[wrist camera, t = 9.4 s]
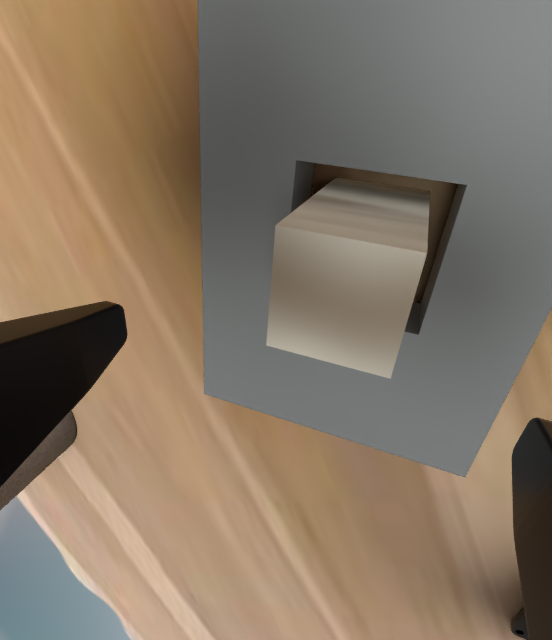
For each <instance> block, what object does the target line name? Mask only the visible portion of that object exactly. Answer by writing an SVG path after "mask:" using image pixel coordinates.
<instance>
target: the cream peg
mask: <svg viewBox="0 0 552 640" xmlns="http://www.w3.org/2000/svg"><path fill="white" fill-rule="evenodd" d="M429 203H430V191H425V190H418V189H412V188H405V187H398V186H391V185H384V184H377V183H370V182H364V181H357V180H350V179H343V178H335V179H333V180H332V181H331V182H330V183H328V184H327V185H326V186H325V187H323V188H322V189H321V190H320V191H318V192H317V193H316V194H314V195H313V196H312V197H311V198H309V199H308V200H307V201H306V202H304V203H303V204H302V205H301V206H299V207H298V208H297V209H295V210H294V211H293V212H292V213H290V214H289V215H288V216H287V217H285V218H284V219H283V220H281V221H280V222H279V223H278V224H276V225H275V238H274V251H273V264H272V277H271V290H270V303H269V316H268V328H267V341H266V346H270V347H274V348H277V349H281V350H285V351H289V352H292V353H296V354H300V355H304V356H307V357H311V358H315V359H318V360H322V361H326V362H330V363H333V364H337V365H341V366H345V367H348V368H352V369H356V370H360V371H363V372H367V373H371V374H375V375H378V376H382V377H386V378H389V379H391V376H392V372H393V369H394V365H395V362H396V358H397V355H398V352H399V348H400V345H401V341H402V338H403V334H404V331H405V328H406V324H407V321H408V317H409V314H410V310H411V307H412V304H413V300H414V297H415V293H416V290H417V286H418V283H419V280H420V276H421V273H422V269H423V266H424V263H425V259H426V256H427V247H428V225H429Z"/></svg>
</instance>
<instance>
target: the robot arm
mask: <svg viewBox="0 0 552 640" xmlns="http://www.w3.org/2000/svg"><path fill="white" fill-rule="evenodd" d="M126 339H127V327H126V320H125V313H124V309H123V307H122V306H121V305H119V304H116V303H112V302H108V301H103V302H98V303H93V304H88V305H83V306H78V307H74V308H69V309H64V310H59V311H54V312H49V313H44V314H39V315H34V316H29V317H25V318H20V319H15V320H10V321H5V322H0V488H1V487H2V486H3V485H4V484H5V482H6V481H7V480H8V479H9V478H10V477H11V476H12V475H13V474H14V473H15V472H16V470H17V469H18V468H19V467H20V466H21V465H22V464H23V463H24V462H25V461H26V459H27V458H28V457H29V456H30V455H31V454H32V453H33V452H34V451H35V450H36V449H37V447H38V446H39V445H40V444H41V443H42V442H43V441H44V440H45V439H46V438H47V436H48V435H49V434H50V433H51V432H52V431H53V430H54V429H55V428H56V427H57V425H58V424H59V423H60V422H61V421H62V420H63V419H64V418H65V417H66V416H67V415H68V413H69V412H70V411H71V410H72V409H73V408H74V407H75V406H76V405H77V404H78V402H79V401H80V400H81V399H82V398H83V397H84V396H85V395H86V393H87V392H88V391H89V390H90V389H91V387H92V386H93V385H94V384H95V382H96V381H97V380H98V378H99V377H100V376H101V374H102V373H103V372H104V370H105V369H106V368H107V366H108V365H109V364H110V362H111V361H112V360H113V358H114V357H115V356H116V354H117V353H118V352H119V350H120V349H121V348H122V346H123V345H124V343H125V341H126ZM512 492H513V528H514V541H515V549H516V556H517V563H518V569H519V576H520V583H521V590H522V596H523V603H524V608H523V609H522V610H521V611H520V612H519V614H518V615H517V616H516V617H515V618H514V619H513V621H512V622H511V624H510V625H511V631H512V633H513V634H515V635H517V636H519V637H522V638H524V639H527V640H552V421H548V420H544V419H541V418H533V419H531V420H530V421H529V423H528V424H527V426H526V428H525V429H524V431H523V433H522V435H521V436H520V438H519V440H518V442H517V443H516V445H515V447H514V449H513V453H512Z"/></svg>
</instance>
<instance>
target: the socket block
mask: <svg viewBox="0 0 552 640" xmlns="http://www.w3.org/2000/svg"><path fill="white" fill-rule="evenodd" d="M198 44H199V106H200V168H201V229H202V291H203V353H204V394H206V395H209V396H212V397H215V398H218V399H221V400H225V401H228V402H231V403H234V404H237V405H240V406H243V407H246V408H250V409H253V410H256V411H259V412H262V413H265V414H268V415H271V416H275V417H278V418H281V419H284V420H287V421H290V422H293V423H296V424H300V425H303V426H306V427H309V428H312V429H315V430H318V431H321V432H325V433H328V434H331V435H334V436H337V437H340V438H343V439H347V440H350V441H353V442H356V443H359V444H362V445H365V446H368V447H372V448H375V449H378V450H381V451H384V452H387V453H390V454H393V455H397V456H400V457H403V458H406V459H409V460H412V461H415V462H418V463H422V464H425V465H428V466H431V467H434V468H437V469H440V470H443V471H447V472H450V473H453V474H456V475H459V476H462V477H465V476H466V474H467V472H468V471H469V469H470V467H471V465H472V463H473V461H474V459H475V457H476V455H477V453H478V451H479V449H480V447H481V445H482V443H483V441H484V439H485V437H486V435H487V433H488V432H489V430H490V428H491V426H492V424H493V422H494V420H495V418H496V416H497V414H498V412H499V410H500V408H501V406H502V404H503V402H504V400H505V398H506V396H507V394H508V393H509V391H510V389H511V387H512V385H513V383H514V381H515V379H516V377H517V375H518V373H519V371H520V369H521V367H522V365H523V363H524V361H525V359H526V357H527V355H528V354H529V352H530V350H531V348H532V346H533V344H534V342H535V340H536V338H537V336H538V334H539V332H540V330H541V328H542V326H543V324H544V322H545V320H546V318H547V316H548V315H549V313H550V311H551V309H552V0H198ZM315 163H319V164H326V165H333V166H339V167H346V168H353V169H360V170H367V171H374V172H381V173H388V174H395V175H401V176H408V177H415V178H422V179H429V180H436V181H443V182H450V183H456V184H458V186H457V189H456V192H455V196H454V199H453V202H452V205H451V208H450V212H449V215H448V218H447V221H446V224H445V228H444V231H443V234H442V237H441V240H440V244H439V247H438V250H437V253H436V256H435V260H434V263H433V266H432V269H431V272H430V276H429V279H428V282H427V285H426V288H425V292H424V295H423V298H422V301H421V304H419V303H415V302H413V304H412V307H411V310H410V314H409V317H408V321H407V324H406V328H405V331H404V334H403V338H402V341H401V345H400V348H399V352H398V355H397V358H396V362H395V365H394V369H393V372H392V376H391V379H389V378H386V377H382V376H378V375H375V374H371V373H367V372H363V371H360V370H356V369H352V368H348V367H345V366H341V365H337V364H333V363H330V362H326V361H322V360H318V359H315V358H311V357H307V356H304V355H300V354H296V353H292V352H289V351H285V350H281V349H277V348H274V347H270V346H266V341H267V328H268V316H269V303H270V290H271V277H272V264H273V251H274V238H275V225H276V224H278V223H279V222H280V221H281V220H283V219H284V218H285V217H287V216H288V215H289V214H290V213H292V212H293V211H294V210H295V209H297V208H298V207H299V206H301V205H302V204H303V203H304V202H306V201H307V200H308V199H309V198H310V197H311V189H312V181H313V173H314V165H315Z"/></svg>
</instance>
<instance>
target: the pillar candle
mask: <svg viewBox="0 0 552 640" xmlns="http://www.w3.org/2000/svg"><path fill="white" fill-rule="evenodd" d="M75 424H76V422H75V419H74V416H73V414H72V412H71V411H70V412H69V413H68V415H67V416H66V417H65V418H64V419H63V420H62V421H61V422H60V423H59V424H58V425H57V427H56V428H55V429H54V430H53V431H52V432H51V433H50V434H49V435H48V436H47V438H46V439H45V440H44V441H43V442H42V443H41V444H40V445H39V446H38V447H37V449H36V450H35V451H34V452H33V453H32V454H31V455H30V456H29V457H28V458H27V459H26V461H25V462H24V463H23V464H22V465H21V466H20V467H19V468H18V469H17V470H16V472H15V473H14V474H13V475H12V476H11V477H10V478H9V479H8V480H7V481H6V482H5V484H4V485H3V486H2V487H1V488H0V510H1V509H2V508H3V507H4V506H5V505H7V504H8V503H9V501H10V500H12V499H13V498H14V497H15V496H16V495H18V494H19V493H20V492H21V491H22V490H23V489H24V488H25V487H26V486H27V485H28V484H29V483H30V482H32V481H33V480H34V479H35V478H36V477H37V476H38V475H39V474H40V473H41V472H43V471H44V470H45V468H46V467H48V466H49V465H50V464H51V463H52V462H53V461H54V460H55V459H56V458H57V457H58V456H60V455H61V454H62V453H63V452H64V451H66V449H67V448H68V447H70V446H71V445H72V444H73V442H74V440H75V437H76V426H75Z"/></svg>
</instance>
